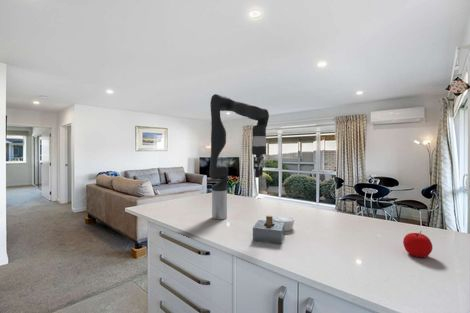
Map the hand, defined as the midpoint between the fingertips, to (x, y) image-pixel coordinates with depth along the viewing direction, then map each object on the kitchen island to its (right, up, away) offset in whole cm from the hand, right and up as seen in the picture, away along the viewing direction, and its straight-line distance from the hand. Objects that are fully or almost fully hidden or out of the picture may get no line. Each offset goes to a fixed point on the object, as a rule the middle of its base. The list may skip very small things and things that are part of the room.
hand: (258, 176), depth 121 cm
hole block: (+4, -28, -10) cm, 30 cm away
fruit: (+60, -29, -29) cm, 73 cm away
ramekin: (+14, -28, +3) cm, 32 cm away
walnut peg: (+4, -28, -10) cm, 30 cm away
